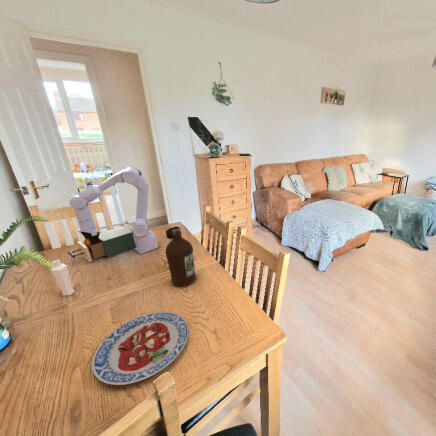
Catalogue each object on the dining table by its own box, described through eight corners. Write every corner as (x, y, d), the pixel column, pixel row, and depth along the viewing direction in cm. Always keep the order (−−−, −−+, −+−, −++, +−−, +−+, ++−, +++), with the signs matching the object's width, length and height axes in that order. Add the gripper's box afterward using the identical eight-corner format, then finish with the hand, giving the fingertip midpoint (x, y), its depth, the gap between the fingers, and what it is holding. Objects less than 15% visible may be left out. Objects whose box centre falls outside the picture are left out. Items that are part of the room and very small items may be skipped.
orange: (97, 243, 123) (95, 234, 121) (102, 246, 120) (99, 237, 118) (85, 247, 119) (82, 237, 117) (89, 250, 116) (86, 241, 114)
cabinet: (107, 257, 121) (103, 241, 117) (98, 250, 127) (93, 234, 123) (136, 247, 131) (132, 231, 128) (126, 241, 137) (122, 226, 134)
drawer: (76, 266, 111) (71, 252, 108) (68, 259, 117) (63, 245, 114) (118, 251, 125) (114, 238, 122) (109, 245, 130) (106, 233, 127)
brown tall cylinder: (188, 262, 120) (183, 226, 112) (181, 270, 114) (175, 232, 106) (176, 261, 120) (170, 225, 113) (169, 269, 114) (162, 231, 107)
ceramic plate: (88, 345, 76) (85, 338, 74) (172, 305, 92) (171, 299, 91) (103, 412, 59) (99, 404, 58) (202, 349, 76) (201, 342, 75)
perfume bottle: (58, 294, 96) (45, 262, 90) (72, 287, 99) (60, 257, 94) (64, 298, 94) (50, 266, 88) (77, 291, 98) (65, 260, 92)
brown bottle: (166, 286, 103) (155, 234, 93) (179, 272, 112) (171, 224, 103) (189, 288, 102) (181, 236, 92) (200, 274, 112) (194, 225, 102)
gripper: (69, 217, 115) (77, 242, 120) (80, 225, 107) (88, 252, 112) (87, 213, 120) (94, 237, 125) (99, 221, 113) (106, 246, 118)
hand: (93, 244), depth 119 cm, fingers closed on orange, 5 cm apart
